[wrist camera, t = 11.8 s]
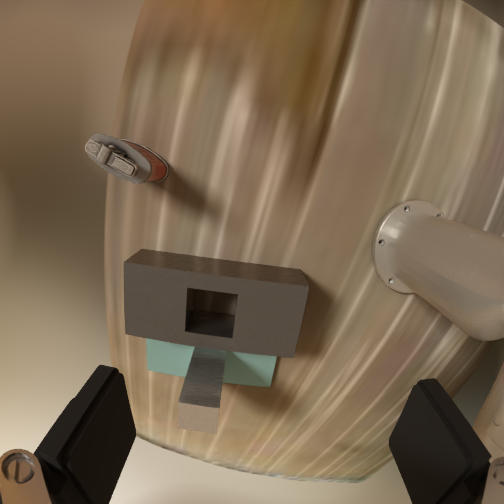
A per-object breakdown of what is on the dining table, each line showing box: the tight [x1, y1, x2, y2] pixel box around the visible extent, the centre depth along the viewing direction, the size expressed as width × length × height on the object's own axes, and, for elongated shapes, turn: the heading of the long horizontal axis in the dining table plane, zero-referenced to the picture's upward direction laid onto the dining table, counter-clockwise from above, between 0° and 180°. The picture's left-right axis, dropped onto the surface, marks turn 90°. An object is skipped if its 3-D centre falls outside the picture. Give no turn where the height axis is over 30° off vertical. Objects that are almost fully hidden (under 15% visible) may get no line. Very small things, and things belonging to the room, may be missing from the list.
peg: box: [178, 347, 226, 434], centre depth 34 cm, size 4×4×12 cm
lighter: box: [85, 133, 170, 184], centre depth 29 cm, size 8×3×10 cm, turn 58°
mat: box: [146, 338, 277, 387], centre depth 40 cm, size 18×8×1 cm, turn 82°
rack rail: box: [124, 249, 309, 358], centre depth 35 cm, size 20×9×6 cm, turn 82°
